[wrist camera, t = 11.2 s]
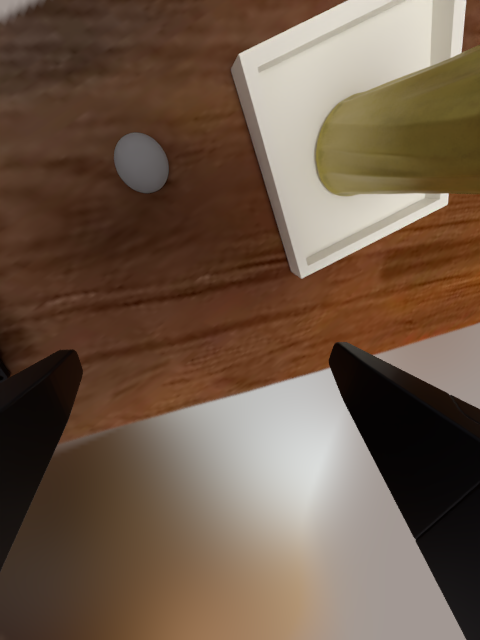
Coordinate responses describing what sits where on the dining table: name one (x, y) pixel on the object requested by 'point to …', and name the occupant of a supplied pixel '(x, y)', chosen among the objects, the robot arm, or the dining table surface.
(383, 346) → the dining table surface
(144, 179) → the mixing ball
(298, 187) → the tray
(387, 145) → the vase
